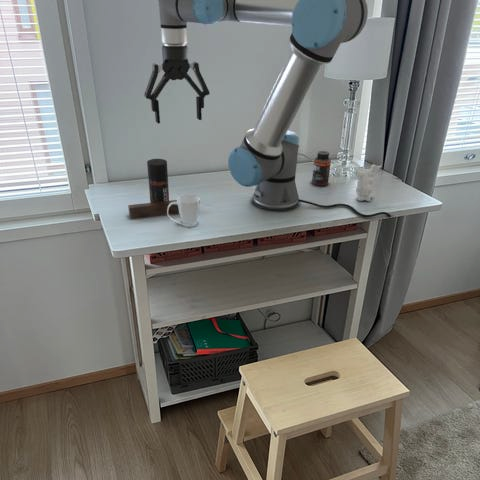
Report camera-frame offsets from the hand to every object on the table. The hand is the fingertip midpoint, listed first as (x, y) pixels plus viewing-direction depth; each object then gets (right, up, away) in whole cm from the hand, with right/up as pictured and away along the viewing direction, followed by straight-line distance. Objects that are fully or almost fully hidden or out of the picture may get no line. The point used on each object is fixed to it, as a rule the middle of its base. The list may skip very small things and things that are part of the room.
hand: (178, 120), depth 155 cm
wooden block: (-5, -30, -2) cm, 30 cm away
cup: (+3, -35, -7) cm, 35 cm away
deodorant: (-6, -28, +1) cm, 29 cm away
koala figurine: (+62, -22, +13) cm, 67 cm away
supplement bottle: (+49, -14, +24) cm, 56 cm away
